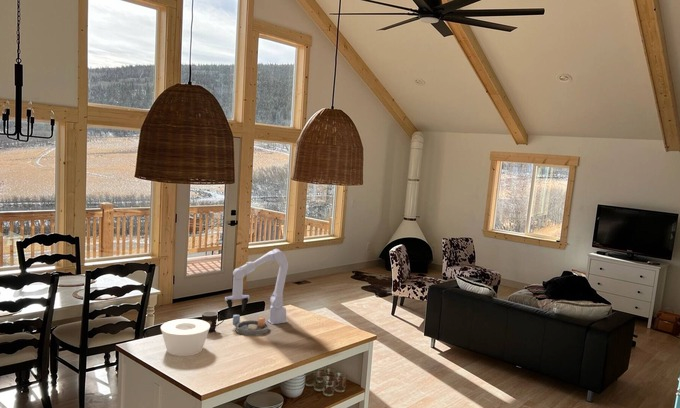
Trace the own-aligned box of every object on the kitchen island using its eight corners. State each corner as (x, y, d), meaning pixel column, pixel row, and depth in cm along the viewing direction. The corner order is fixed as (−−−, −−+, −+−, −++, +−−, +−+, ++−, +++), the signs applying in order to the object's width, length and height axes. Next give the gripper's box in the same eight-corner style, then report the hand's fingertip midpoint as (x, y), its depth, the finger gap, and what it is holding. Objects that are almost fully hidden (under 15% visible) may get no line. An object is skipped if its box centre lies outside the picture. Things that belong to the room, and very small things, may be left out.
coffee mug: (198, 332, 286) (198, 314, 285) (206, 327, 294) (207, 310, 293) (216, 335, 283) (217, 317, 282) (224, 330, 291) (225, 313, 290)
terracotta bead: (262, 325, 300) (263, 317, 300) (265, 327, 297) (266, 319, 297) (256, 326, 298) (256, 318, 298) (259, 328, 295) (259, 320, 294)
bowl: (218, 351, 261) (218, 328, 259) (172, 362, 244) (173, 338, 243) (195, 337, 278) (196, 315, 277) (151, 346, 262) (152, 323, 260)
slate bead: (238, 322, 306) (238, 314, 306) (240, 324, 303) (240, 316, 302) (231, 323, 304) (232, 314, 303) (234, 325, 301) (234, 317, 300)
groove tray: (260, 323, 307) (261, 319, 307) (273, 333, 292) (273, 328, 292) (231, 326, 298) (232, 322, 298) (243, 337, 283) (243, 332, 282)
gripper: (246, 286, 308) (245, 308, 310) (223, 288, 301) (222, 310, 302) (251, 289, 302) (250, 311, 304) (227, 291, 295) (226, 314, 296)
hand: (236, 311), depth 303 cm, fingers open, 7 cm apart
